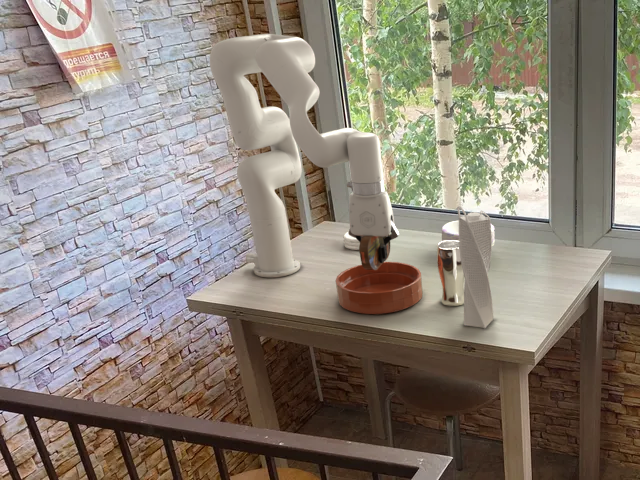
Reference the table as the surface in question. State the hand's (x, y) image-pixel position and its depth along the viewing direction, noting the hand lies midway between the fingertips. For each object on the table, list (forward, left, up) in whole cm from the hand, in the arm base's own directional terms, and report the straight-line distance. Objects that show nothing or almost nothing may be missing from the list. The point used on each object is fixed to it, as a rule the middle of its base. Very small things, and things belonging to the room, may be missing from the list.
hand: (376, 260), depth 196 cm
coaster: (-20, +38, -11) cm, 44 cm away
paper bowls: (+14, +36, -11) cm, 40 cm away
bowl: (0, 0, -10) cm, 10 cm away
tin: (0, 0, -1) cm, 1 cm away
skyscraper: (+28, -10, -11) cm, 32 cm away
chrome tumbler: (+19, +1, -11) cm, 22 cm away
